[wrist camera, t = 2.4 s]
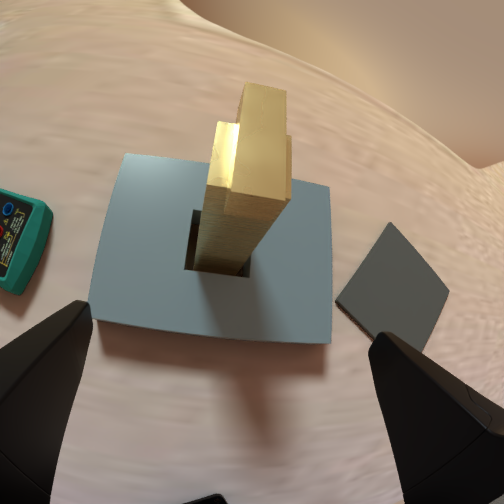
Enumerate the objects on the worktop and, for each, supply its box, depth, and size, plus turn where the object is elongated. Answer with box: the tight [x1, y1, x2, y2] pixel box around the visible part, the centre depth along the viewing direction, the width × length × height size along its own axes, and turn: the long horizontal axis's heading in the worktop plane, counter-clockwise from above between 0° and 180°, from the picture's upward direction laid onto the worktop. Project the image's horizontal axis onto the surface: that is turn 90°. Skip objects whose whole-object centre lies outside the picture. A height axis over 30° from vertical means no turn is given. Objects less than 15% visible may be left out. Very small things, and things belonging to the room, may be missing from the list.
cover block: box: [88, 153, 332, 344], centre depth 21 cm, size 12×16×2 cm
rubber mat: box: [335, 222, 449, 352], centre depth 24 cm, size 10×10×1 cm
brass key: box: [193, 82, 292, 276], centre depth 15 cm, size 5×3×14 cm, turn 176°
